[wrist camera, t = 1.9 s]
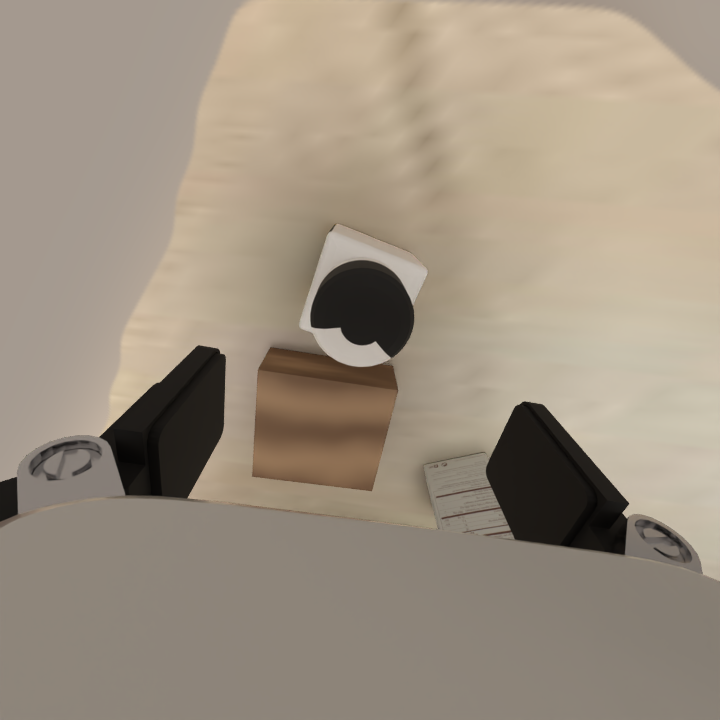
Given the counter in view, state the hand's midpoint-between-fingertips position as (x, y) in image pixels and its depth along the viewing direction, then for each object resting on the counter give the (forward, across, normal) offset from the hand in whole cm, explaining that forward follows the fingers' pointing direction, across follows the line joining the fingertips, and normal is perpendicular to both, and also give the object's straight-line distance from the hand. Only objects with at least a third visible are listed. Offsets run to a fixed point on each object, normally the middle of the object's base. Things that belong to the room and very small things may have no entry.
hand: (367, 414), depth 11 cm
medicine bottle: (+21, 0, 0) cm, 21 cm away
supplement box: (+21, -16, +22) cm, 34 cm away
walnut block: (+21, +1, +14) cm, 26 cm away
